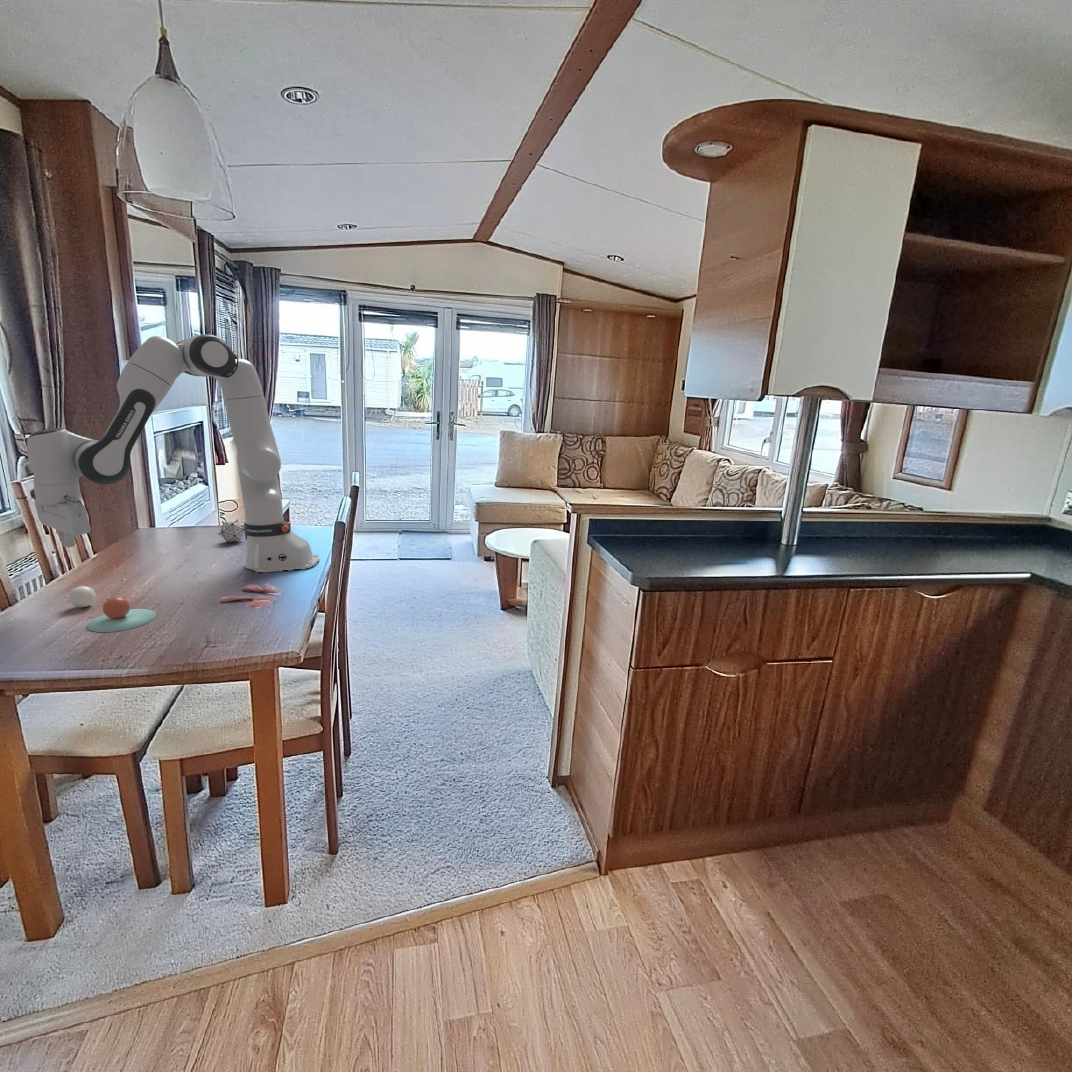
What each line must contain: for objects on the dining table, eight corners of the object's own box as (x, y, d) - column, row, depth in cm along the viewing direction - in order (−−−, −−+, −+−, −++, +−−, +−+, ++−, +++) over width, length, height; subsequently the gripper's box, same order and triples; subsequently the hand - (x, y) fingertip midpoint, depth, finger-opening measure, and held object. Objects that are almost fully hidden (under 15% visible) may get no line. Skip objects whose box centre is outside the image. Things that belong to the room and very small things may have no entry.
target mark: (166, 608, 149) (166, 607, 149) (139, 631, 136) (138, 630, 136) (106, 610, 147) (106, 609, 147) (73, 633, 134) (73, 632, 134)
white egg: (94, 580, 151) (104, 599, 152) (73, 588, 150) (83, 607, 151) (81, 585, 145) (91, 605, 146) (59, 593, 145) (70, 613, 146)
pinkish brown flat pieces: (262, 615, 149) (261, 606, 148) (189, 606, 153) (188, 598, 152) (307, 588, 168) (307, 580, 167) (241, 582, 172) (240, 574, 171)
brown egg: (133, 593, 144) (132, 610, 146) (106, 591, 142) (106, 608, 144) (127, 606, 140) (126, 624, 142) (99, 604, 137) (99, 622, 140)
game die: (237, 552, 210) (239, 535, 204) (213, 545, 208) (214, 527, 202) (248, 535, 217) (250, 518, 210) (224, 528, 215) (225, 510, 208)
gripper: (92, 496, 143) (101, 550, 146) (56, 487, 153) (65, 537, 156) (62, 500, 137) (72, 555, 141) (26, 490, 148) (37, 542, 151)
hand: (68, 546), depth 149 cm, fingers closed
